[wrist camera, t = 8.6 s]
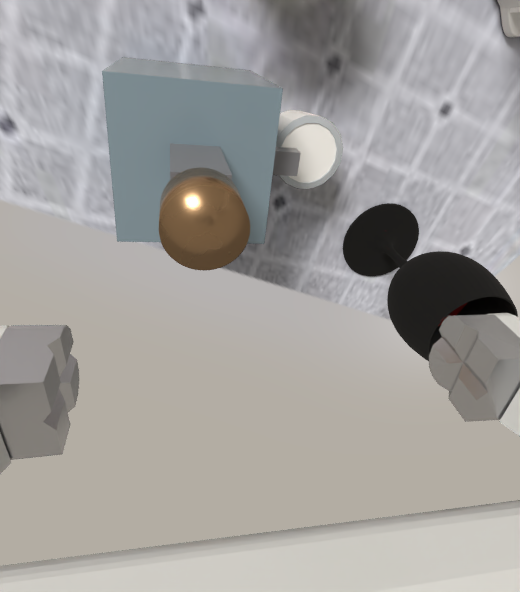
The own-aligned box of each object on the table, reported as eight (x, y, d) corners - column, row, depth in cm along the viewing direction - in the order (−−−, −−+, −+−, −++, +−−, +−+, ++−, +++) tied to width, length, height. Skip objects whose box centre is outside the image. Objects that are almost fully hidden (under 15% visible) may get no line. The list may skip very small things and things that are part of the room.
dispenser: (280, 73, 41) (360, 108, 24) (266, 191, 47) (322, 286, 30) (122, 57, 38) (83, 83, 21) (130, 185, 44) (106, 287, 27)
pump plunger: (229, 139, 30) (254, 187, 21) (225, 202, 32) (246, 270, 23) (161, 134, 29) (157, 183, 20) (162, 200, 31) (159, 270, 22)
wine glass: (337, 277, 56) (407, 382, 39) (348, 204, 50) (436, 291, 34) (407, 272, 58) (502, 371, 41) (426, 201, 52) (545, 283, 36)
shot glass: (294, 181, 47) (311, 202, 42) (246, 145, 44) (258, 163, 38) (333, 130, 45) (357, 145, 39) (286, 88, 42) (305, 98, 36)
